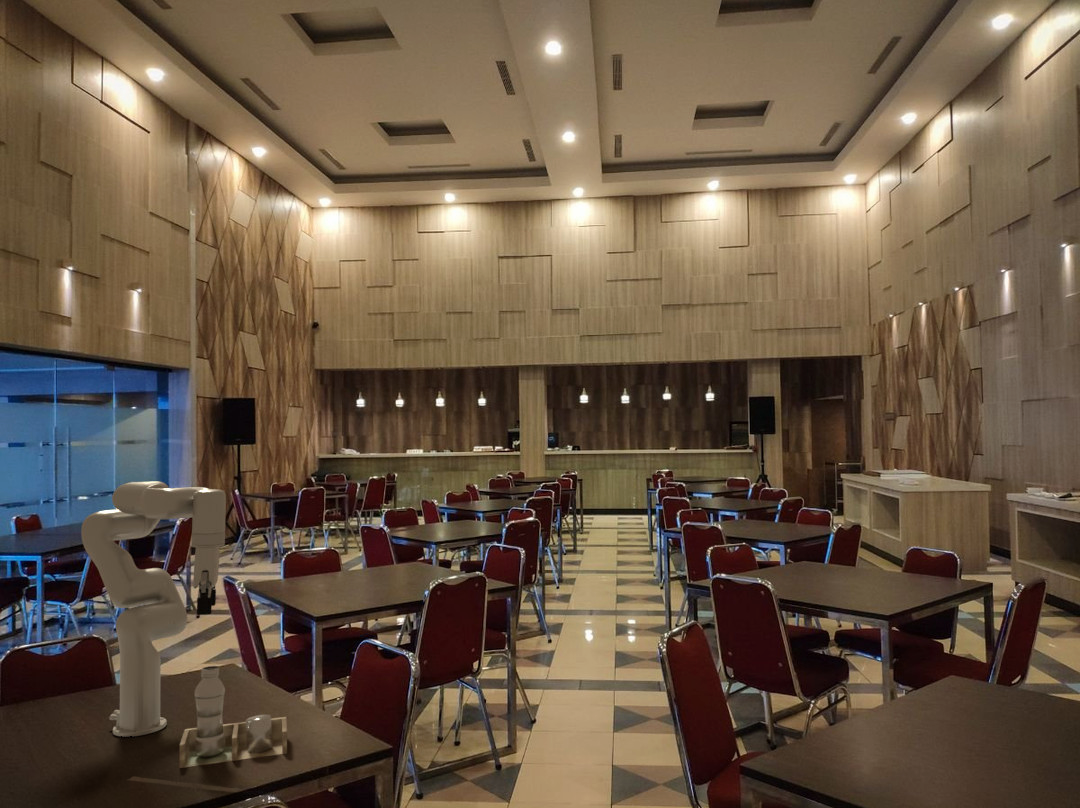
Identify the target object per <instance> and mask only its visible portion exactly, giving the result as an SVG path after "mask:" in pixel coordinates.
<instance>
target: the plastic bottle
mask: <svg viewBox="0 0 1080 808" xmlns="http://www.w3.org/2000/svg"><path fill="white" fill-rule="evenodd" d="M219 671H220V669H219V666H218V665H210V666H209V665H208V666H205V667H204V666H203V667H202V668H201V674H200V678H202V679H201V680H200V681H199V682H198V684H197V686H196V687H195V690H194V700H195V701H194V702H195V707H196V717H197V719H196V720H197V723H196V728H197V733H196V738H195V745H194V747H195V752H196V754H197V755H198V756H200V757H210V756H215V755H218V754H220V753H221V752H222V751H223V750H224V748H225V742H226V741H225V735H224V732H223V724H224V722H223V710H224V709H223V708H224V699H225V692H226V689H225V686H224V683H223V682H222V681H221V679H220V678H219V675H220V672H219Z"/></svg>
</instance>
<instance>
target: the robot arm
mask: <svg viewBox="0 0 1080 808" xmlns="http://www.w3.org/2000/svg"><path fill="white" fill-rule="evenodd" d="M111 501H112V504H113V506H114V508H115V509H106V510H100V511H96V512H94V513H93V512H92V513H90V514H89V515H88V516H86V517H85V518H84V520H83V522H82V524H81V531H80V532H81V542H82V544H83V548H84V549H85V551H86V553H87V555H88V557H89V558H90V559H91V561H92V562H93V563H94V565H95V567H96V568H97V570H98V572H99V575H100V577H101V580H102V583H103V585H104V587H105V590H106V592H107V595H108V597H109V600H110V601H111V603H112V604H113V606H115V607H116V608H118V609H125V608H126V609H125V610H124V611H122V612H121V613H120V614H119V615H118V617H117V619H116V623H115V630H116V636H117V642H118V648H119V709H115V710H114V711H113V712H112V714H110V716H109V717H108V718H109V720H110V721H116V722H115V723H116V724H115V725H114V726H113V728H112V734H113V735H114V736H116V737H121V736H122V737H123V738H129V737H130V736H132V737H139V736H145V735H149V734H152V733H156V732H158V731H160V730H162V729H164V728H165V727H167V724H168V723H167V719H166V718H164V717H161V655H160V653H159V651H158V649H156V647H155V646H154V645H153V642H154V641H157V640H162V639H165V638H169V637H170V638H171V637H174V636H177V635H179V634H181V633H183V631H184V630H185V629H186V628H187V625H188V614H187V609H186V608H185V604H184V602H183V600H182V598H181V596H180V594H179V591H178V588H177V587H176V584H175V582H174V580H173V577H172V576H171V574H170V573H168V571H167V570H165V569H163V568H159V567H152V568H145V569H140V568H138V567H137V566H136V564H135V561H134V558H133V556H132V555H131V554H130V553H129V551H127V550H126V549H125V548H124V547H122V546H121V545H119V544H118V543H116V542H115V541H124V540H133V539H134V540H135V539H141V538H145V537H147V536H148V535H150V533H152V532H153V531H154V529H156V526H157V525H158V524H159V522H160V521H161V520H173V519H187V518H192V521H191V523H192V524H191V547H192V548H195V553H194V564H193V579H192V582H193V583H192V587H193V589H197V588H198V592H197V598H196V615H197V616H202V615H211V614H212V610H213V609H212V608H213V607H214V606H216V603H217V602H216V599H217V598H216V597H217V589H216V584H217V583H218V579H219V570H220V548H221V547H224V546H225V545H226V544H225V543H226V540H225V539H226V511H227V510H226V509H227V495H226V491H224V490H222V489H215V488H213V489H212V488H208V487H205V486H204V487H203V486H195V487H193V486H192V487H174V488H170V486H168V484H166V483H165V482H163V481H155V480H154V481H153V480H151V481H131V482H127V483H123V484H121V485H119V486H118V487H117V488H116V489H115V490H114V491H113V494H112V496H111ZM127 608H128V609H127Z"/></svg>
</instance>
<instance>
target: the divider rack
mask: <svg viewBox="0 0 1080 808" xmlns="http://www.w3.org/2000/svg"><path fill="white" fill-rule="evenodd" d="M271 728H272V748H270V749H268V750H266V751H262V752H256V753H251V752H248V750H247V731H246V721H242V722H241V721H240V722H234V723H225V724H224V723H223V732H224V735H225V741H226V742H225V748H224V750H223V751H222V752H221V753H220V754H218V755H215V756H210V757H200V756H198V755H197V754H196V752H195V747H194V745H195V738H196V733H197V727H192V728H186V729H184V730H183V733H182V737H181V739H180V743H179V768H180V769H182V768H188V767H195V766H196V767H197V766H202V765H203V766H204V765H205V766H206V765H211V764H212V765H213V764H218V763H219V764H220V763H225V762H234V761H242V760H247V759H256V758H262V757H263V758H264V757H271V756H277V755H286V754H288V726H287V716H283V717H273V718H271Z"/></svg>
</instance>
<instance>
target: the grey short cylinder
mask: <svg viewBox="0 0 1080 808" xmlns="http://www.w3.org/2000/svg"><path fill="white" fill-rule="evenodd" d="M271 719H272V715H271V714H257V715H253V716H251V717H248V718H246V720H245V722H246V731H247V750H248V752H251V753H256V752H262V751H266V750H268V749H270V748H272V728H271Z"/></svg>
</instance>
